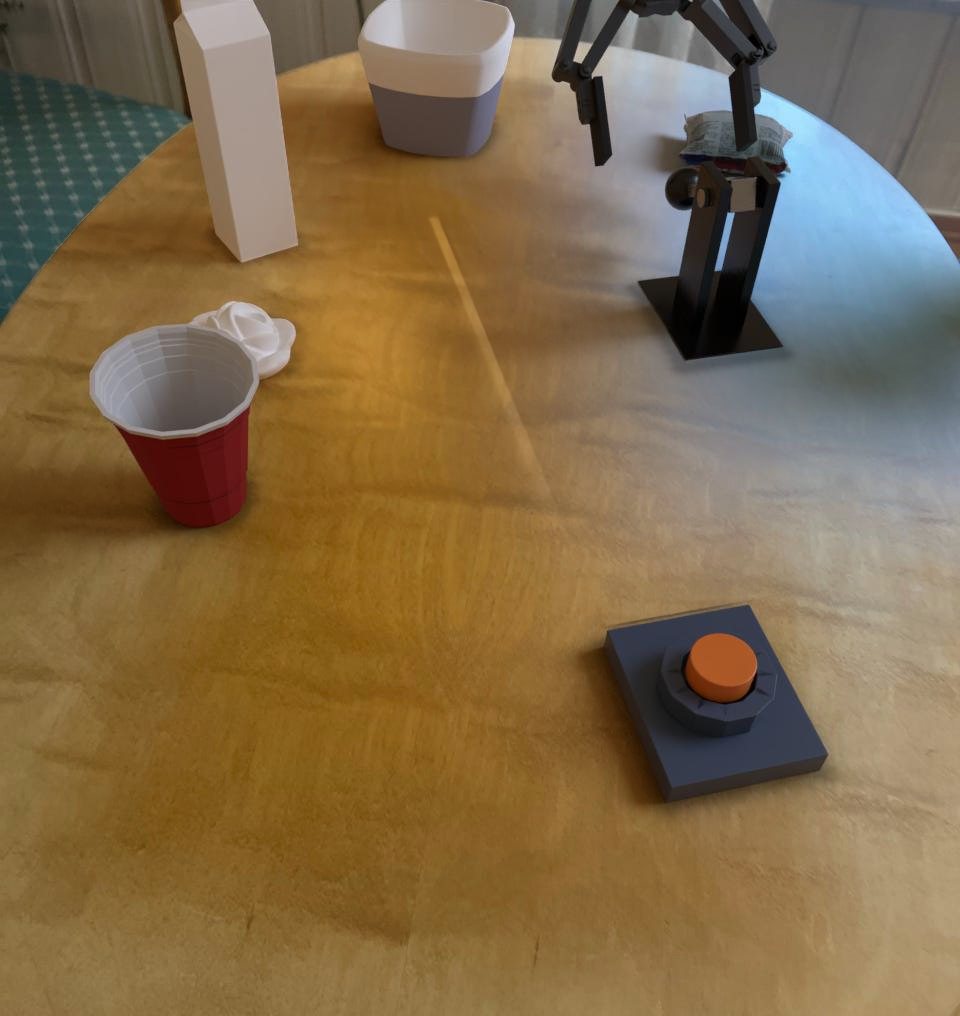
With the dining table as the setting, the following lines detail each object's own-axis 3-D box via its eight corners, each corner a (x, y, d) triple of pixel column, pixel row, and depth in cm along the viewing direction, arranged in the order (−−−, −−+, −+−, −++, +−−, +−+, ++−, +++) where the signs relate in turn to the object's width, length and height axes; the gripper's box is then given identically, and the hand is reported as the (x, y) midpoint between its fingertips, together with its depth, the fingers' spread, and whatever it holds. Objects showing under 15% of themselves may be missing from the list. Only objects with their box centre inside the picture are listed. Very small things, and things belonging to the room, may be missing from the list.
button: (675, 656, 62) (680, 639, 61) (735, 645, 63) (741, 627, 62) (699, 708, 60) (704, 692, 58) (761, 696, 60) (768, 679, 59)
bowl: (350, 157, 107) (340, 44, 98) (392, 94, 116) (386, -14, 108) (490, 177, 105) (493, 63, 96) (521, 111, 114) (527, 2, 106)
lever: (658, 211, 91) (658, 167, 90) (695, 207, 92) (696, 163, 90) (721, 222, 80) (722, 172, 78) (763, 217, 80) (765, 167, 79)
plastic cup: (192, 582, 70) (151, 451, 60) (104, 504, 74) (53, 371, 65) (312, 504, 75) (292, 372, 65) (223, 436, 79) (192, 302, 70)
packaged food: (680, 138, 111) (688, 91, 107) (788, 150, 110) (801, 104, 106) (673, 177, 106) (681, 130, 102) (787, 191, 105) (800, 144, 101)
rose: (147, 311, 82) (237, 261, 87) (160, 357, 85) (246, 306, 90) (231, 361, 78) (320, 306, 83) (240, 406, 82) (325, 351, 86)
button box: (602, 650, 67) (609, 612, 64) (742, 624, 69) (755, 585, 65) (664, 806, 60) (676, 772, 57) (818, 773, 61) (838, 738, 58)
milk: (299, 249, 96) (266, -10, 79) (240, 267, 94) (194, 5, 77) (271, 219, 99) (234, -36, 82) (214, 236, 97) (163, -22, 80)
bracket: (636, 291, 93) (660, 141, 82) (727, 280, 94) (762, 131, 83) (682, 371, 86) (716, 218, 75) (780, 357, 87) (826, 205, 76)
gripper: (759, -86, 92) (785, 155, 95) (497, -70, 88) (531, 181, 91) (800, -139, 85) (826, 124, 88) (515, -124, 81) (552, 151, 84)
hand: (676, 154), depth 90 cm, fingers open, 13 cm apart
